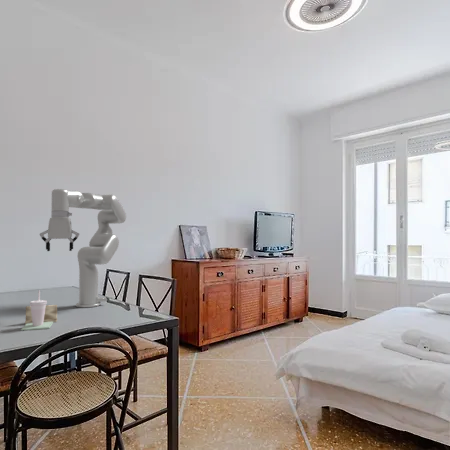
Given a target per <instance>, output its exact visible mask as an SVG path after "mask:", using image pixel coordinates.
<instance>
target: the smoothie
mask: <svg viewBox="0 0 450 450" xmlns="http://www.w3.org/2000/svg"><path fill="white" fill-rule="evenodd" d="M37 293H38V297H37V298H38V299H37V300H32V301H29V306H31V314H32V322H33V326H41V325H43V321H44V314H45V308H46V305H47V304H48V301H47V299H46V300H45V299H41V290H38V292H37Z"/></svg>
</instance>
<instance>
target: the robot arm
mask: <svg viewBox="0 0 450 450" xmlns="http://www.w3.org/2000/svg"><path fill="white" fill-rule="evenodd" d="M70 208H77V209H89V210H100V211H99V212H98V214H97V226H98V227H97V230H96V231H95V233H94V234H93V236H92V237H91V239H90V240H89V243H88V246H83V247H81V248H80V249H79V250H78V251H77V263H78V269H79V270H78V272H79V273H78V274H79V275H78V277H79V279H78V282H79V283H78V284H79V285H78V291H79V292H78V300H79V301H78V302H77V303H75V307H77V308H93V307H94V308H95V307H98V306H101V305H102V302H107V297H100V296H99V271H98V268H97V266H96V265H107V264H108V263H110V261H111V259H112V258H113V257H114V255H115V253H116V252H117V250H118V248H119V243H120V240H119V237H118V236H117V235H115V234H113V230H112V227H111V226H110V224H112V225H113V224H122V223H125V222H126V220H127V213H126V211H125V209H124V206H123V204H122V203H121V202H120V199H118V197H117V196H116V195H114V194H99V193H98V194H97V193H91V192H80V191H78V190H67V189H62V188H57V189H56V188H55V189H53V190H52V191H51V210H50V211H51V215H50V217H49V221H48V228H47V229H46V230H44V231H42V232H40V233H39V236H40V238H41V240H43V241H44V243H45V250H47V251H46V252H50V251H51V243H50V241H51V240H53V239H55V240H56V239H60V240H61V239H63V240H67V239H68V241H69V249H68V250H69V251H70V252H72V251H73V250H74V242H75V241H76V240H77V239H78V238H79V236H80V233H79V232H77V231H75V230H72V229H73V228H72V220H71V218H70V217H72V216H73V212H70V211H69V209H70ZM73 234H74V235H75V236H74V237H73ZM45 235H47V238H46V237H45ZM72 237H73V238H72Z"/></svg>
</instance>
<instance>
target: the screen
mask: <svg viewBox="0 0 450 450" xmlns="http://www.w3.org/2000/svg"><path fill="white" fill-rule="evenodd" d="M43 322H53V323H56V322H58V304H49V305H47V304H46V308H45V314H44V321H43ZM27 323H33V322H32V314H31V305H29V306H28V305H27V306H26V307H25V322H24V324H25V325H26V324H27Z"/></svg>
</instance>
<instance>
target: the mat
mask: <svg viewBox="0 0 450 450" xmlns="http://www.w3.org/2000/svg"><path fill="white" fill-rule="evenodd" d="M53 324H54V322H43V325H41V326H33V323H27V324H25V325H23V327H21V329H20V331H21V332H22V331H23V330H24V331H36V330H38V331H39V330H47V329H48V330H49V329H51V326H52V325H53Z"/></svg>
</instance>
